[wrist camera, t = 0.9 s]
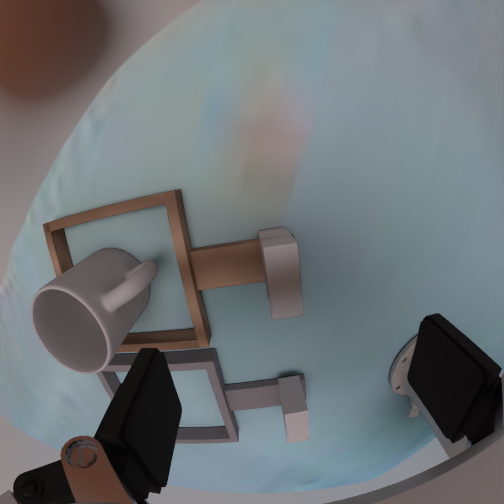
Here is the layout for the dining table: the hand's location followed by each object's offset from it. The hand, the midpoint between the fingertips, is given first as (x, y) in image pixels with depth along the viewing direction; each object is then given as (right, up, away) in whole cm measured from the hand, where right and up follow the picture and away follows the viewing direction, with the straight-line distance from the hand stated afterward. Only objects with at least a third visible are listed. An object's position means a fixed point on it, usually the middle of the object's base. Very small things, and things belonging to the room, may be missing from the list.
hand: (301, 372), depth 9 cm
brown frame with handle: (-10, +2, +19) cm, 22 cm away
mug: (-15, +1, +19) cm, 25 cm away
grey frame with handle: (-8, -15, +24) cm, 29 cm away
